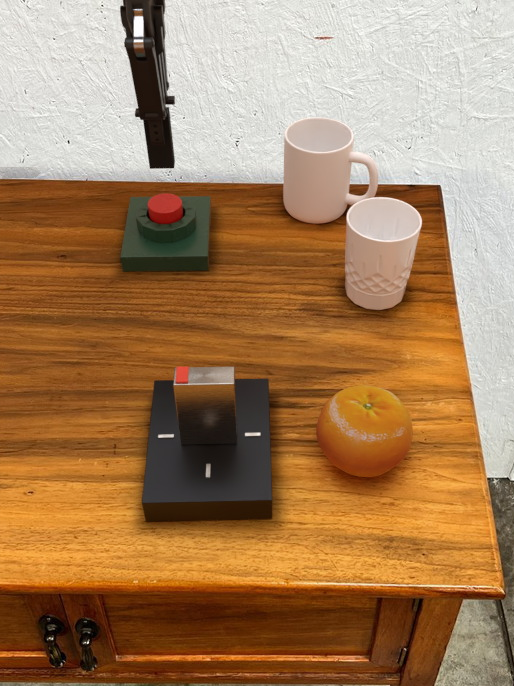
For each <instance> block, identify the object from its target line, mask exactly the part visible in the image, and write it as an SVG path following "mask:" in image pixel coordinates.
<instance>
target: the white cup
mask: <svg viewBox="0 0 514 686" xmlns="http://www.w3.org/2000/svg"><path fill="white" fill-rule="evenodd" d="M345 221H346V222H345V245H344V246H345V248H344V273H345V278H344V279H345V280H344V281H345V282H344V288H345V293H346V296H347V297H348V299H350V301H351V302H352V303H354V304H355V305H357V306H360V307H361V308H363V309H366V310H374V311H383V310H387V309H392V308H394V307H395V306H396V305H398V304H399V303H401V302H402V300H403V298H404V295H405V293H406V289H407V285H408V281H409V279H410V276H411V271H412V268H413V264H414V260H415V256H416V251H417V247H418V243H419V238H420V235H421V230H422V225H423V218H422V216H421V214H420V212H419V211H418V210H417V209H416V208H415V207H414V206H412V205H411V204H409V203H407V202H406V201H403V200H401V199H397V198H393V197H386V196H384V197H383V196H376V197H375V196H374V198H368V199H364V200H361V201H359V202H357V203H355V204H354V205H351V206H350V207H349V209H347V212H346V220H345Z"/></svg>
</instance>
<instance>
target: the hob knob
mask: <svg viewBox="0 0 514 686" xmlns="http://www.w3.org/2000/svg"><path fill="white" fill-rule="evenodd" d="M235 379H236V368H235V366H194V367H193V366H191V367H190V366H176V367H174V371H173V380H174V382H173V386H174V394H175V402H176V409H177V417H178V424H179V432H180V439H181V445H194V444H237V411H236V388H235Z"/></svg>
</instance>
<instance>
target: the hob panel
mask: <svg viewBox="0 0 514 686" xmlns="http://www.w3.org/2000/svg"><path fill="white" fill-rule="evenodd" d="M269 381H270V380H269V378H235V388H236V411H237V444H194V445H181V439H180V432H179V424H178V417H177V409H176V402H175V394H174V386H173V382H174V379H160V380H159V379H158V380H157V379H156V380H153V390H152V399H151V408H150V409H151V410H150V419H149V427H148V428H149V429H148V438H147V446H146V447H147V448H146V457H145V467H144V477H143V485H142V494H141V495H142V496H141V506H142V511H143V517H144V521H145V523H164V522H165V523H166V522H169V523H170V522H204V521H205V522H207V521H209V522H210V521H211V522H212V521H250V520H251V521H253V520H273V501H274V500H273V477H272V476H273V473H272V472H273V471H272V444H271V442H272V441H271V412H270V411H271V410H270V387H269V386H270V382H269Z"/></svg>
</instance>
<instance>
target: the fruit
mask: <svg viewBox="0 0 514 686" xmlns="http://www.w3.org/2000/svg"><path fill="white" fill-rule="evenodd" d="M413 426H414V425H413V419H412V417H411V414H410V412H409V410H408V409H407V407H406V406H405V404H404V403H403V402H402V400H401V399H400V398H399V397H398V396H397V395H396V394H394V393H393V392H392V391H390V390H387V389H385V388H382V387H378V386H375V385H374V386H373V385H366V384H359V385H353V386H349V387H346V388H344V389H341V390H339V391H337V392H336V393H335V394H333V395H332V396H331V397H330V398H329V399H328V400H327V402H326V403H325V404H324V406H323V407H322V409H321V411H320V413H319V416H318V419H317V423H316V427H315V434H316V439H317V440H316V441H317V444H318V446H319V448H320V449H321V451H322V453H323V454H324V456H325V457H326V458H327V460H328V461H329V463H330V464H331V465H333V466H334V467H335V468H337V469H339V470H341V471H342V472H344V473H346V474H349V475H350V476H354V477H355V476H356V477H359V478H360V477H361V478H374V477H378V476H381V475H383V474H385V473H387V472H388V471H390V470H392V469H394V468H395V467H396V466H398V465H399V464H400V463H402V462H403V461H404V459H405V458H406V457H407V455H408V453H409V452H410V448H411V447H412V441H413V436H414V427H413Z"/></svg>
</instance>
